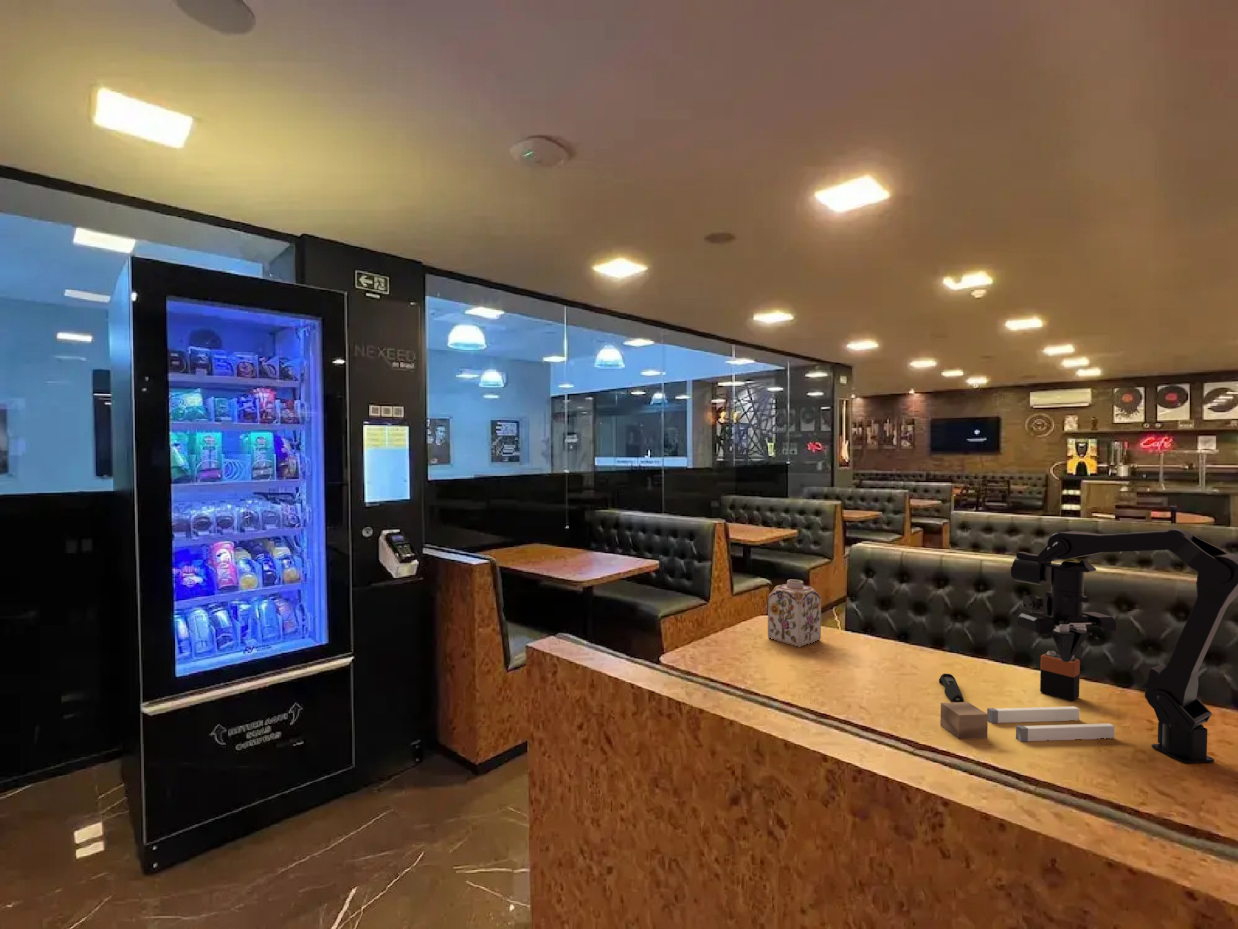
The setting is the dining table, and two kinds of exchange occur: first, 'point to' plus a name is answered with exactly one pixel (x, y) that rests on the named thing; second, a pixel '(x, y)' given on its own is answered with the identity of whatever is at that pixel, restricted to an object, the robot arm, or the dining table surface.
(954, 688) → the electric trimmer
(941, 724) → the walnut block
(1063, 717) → the chute
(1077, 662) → the battery
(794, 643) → the decorative jar
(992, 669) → the dining table surface
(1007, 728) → the dining table surface
